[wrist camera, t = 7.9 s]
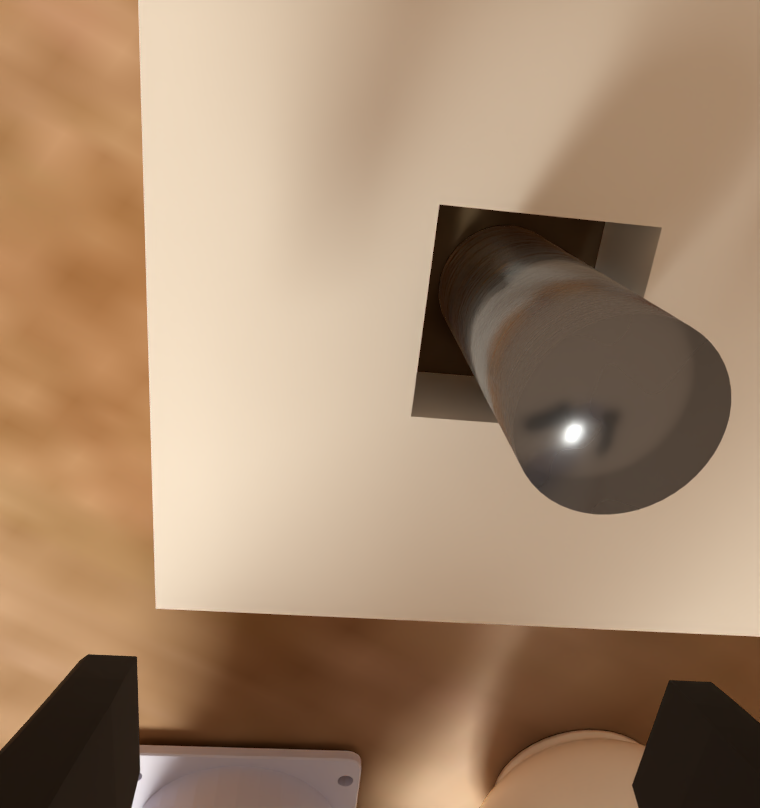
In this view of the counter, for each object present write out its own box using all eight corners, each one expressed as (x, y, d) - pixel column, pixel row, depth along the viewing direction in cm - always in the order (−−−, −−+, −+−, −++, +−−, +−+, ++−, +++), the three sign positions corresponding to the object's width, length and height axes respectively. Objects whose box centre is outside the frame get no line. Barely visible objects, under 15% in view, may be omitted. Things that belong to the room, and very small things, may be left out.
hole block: (707, 568, 21) (762, 636, 18) (181, 538, 20) (155, 608, 17) (918, -32, 15) (1051, -66, 12) (174, -141, 13) (132, -207, 11)
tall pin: (549, 354, 18) (695, 520, 11) (430, 344, 18) (496, 508, 10) (575, 232, 17) (761, 324, 9) (448, 219, 16) (536, 304, 9)
